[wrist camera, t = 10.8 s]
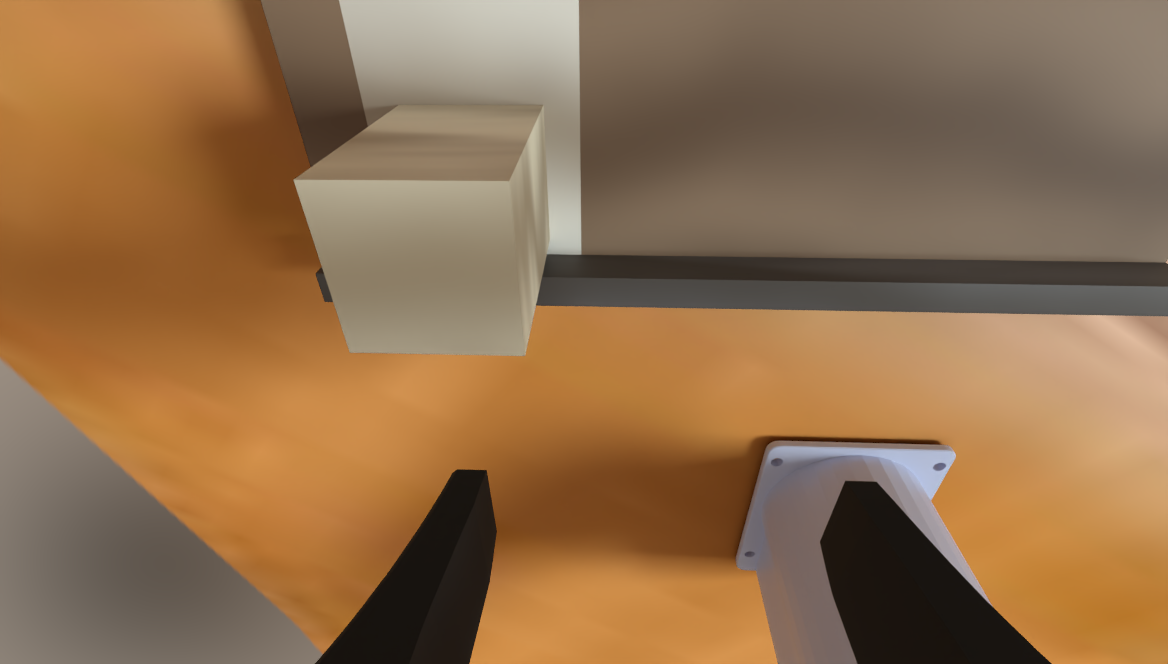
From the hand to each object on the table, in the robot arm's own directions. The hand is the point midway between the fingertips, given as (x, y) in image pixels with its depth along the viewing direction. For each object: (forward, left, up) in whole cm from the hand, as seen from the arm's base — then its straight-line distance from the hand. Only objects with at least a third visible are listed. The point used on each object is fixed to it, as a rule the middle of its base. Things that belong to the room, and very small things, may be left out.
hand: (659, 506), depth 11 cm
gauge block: (+4, +5, -8) cm, 11 cm away
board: (+5, -3, -10) cm, 11 cm away
